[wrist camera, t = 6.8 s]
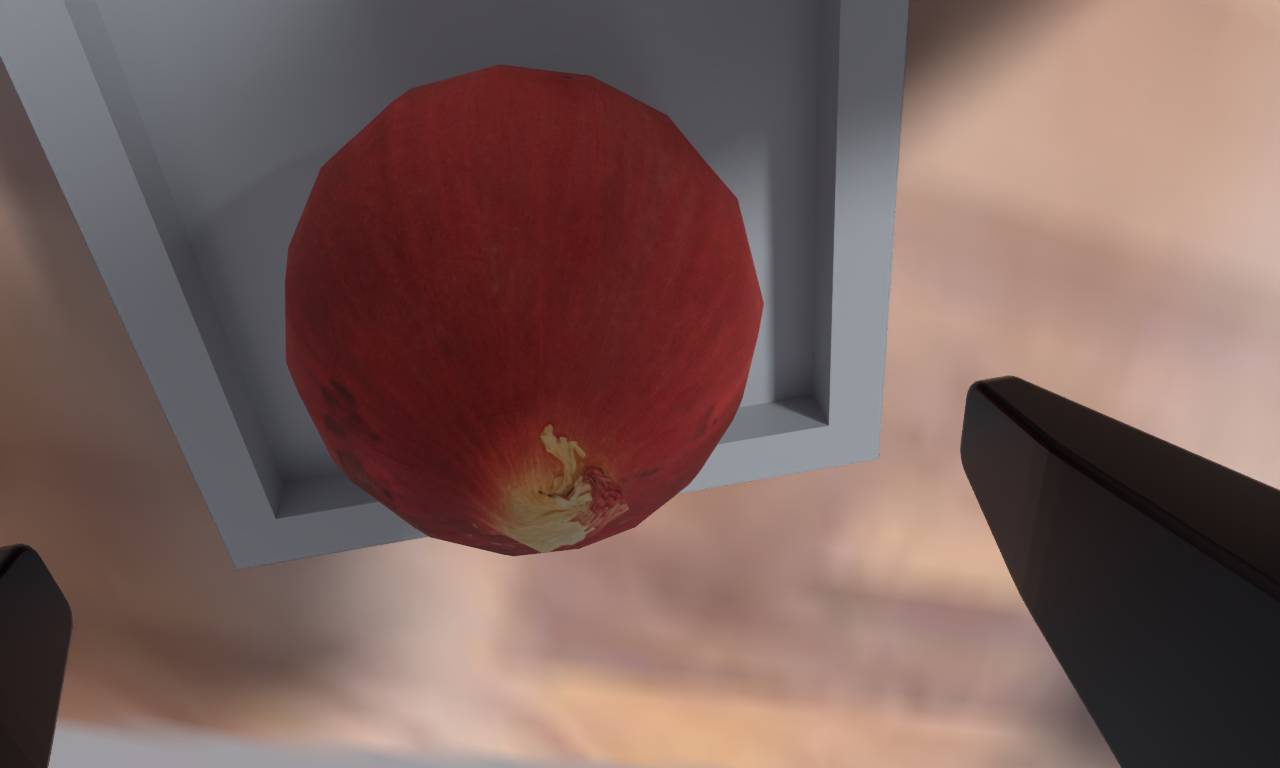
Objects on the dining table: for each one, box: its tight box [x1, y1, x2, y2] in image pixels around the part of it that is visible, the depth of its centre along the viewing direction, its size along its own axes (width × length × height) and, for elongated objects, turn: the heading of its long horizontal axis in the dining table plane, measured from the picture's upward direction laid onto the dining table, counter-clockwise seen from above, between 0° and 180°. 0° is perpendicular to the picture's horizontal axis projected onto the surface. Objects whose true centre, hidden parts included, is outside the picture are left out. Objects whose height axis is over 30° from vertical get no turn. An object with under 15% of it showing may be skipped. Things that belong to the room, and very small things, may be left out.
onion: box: [285, 65, 764, 556], centre depth 12 cm, size 6×6×8 cm
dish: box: [0, 0, 909, 570], centre depth 15 cm, size 12×12×2 cm
